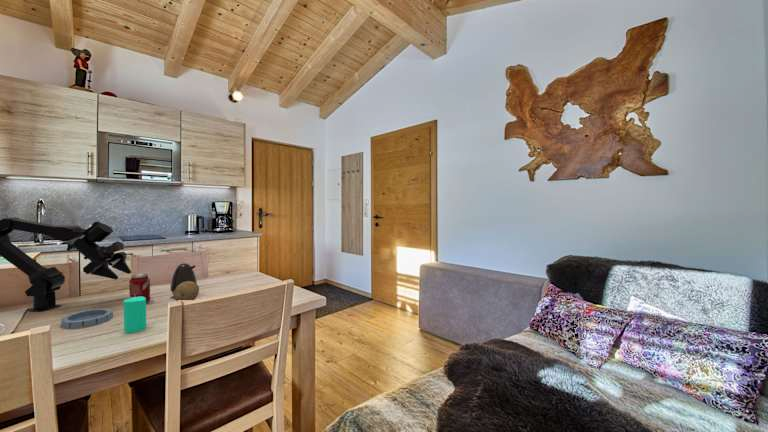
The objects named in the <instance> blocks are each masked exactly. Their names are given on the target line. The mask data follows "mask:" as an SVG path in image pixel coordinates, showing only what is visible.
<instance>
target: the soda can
mask: <svg viewBox="0 0 768 432" xmlns="http://www.w3.org/2000/svg"><path fill="white" fill-rule="evenodd" d="M130 277H131V278H130V279H129V281H128V283H129V285H128V286H129V299H130V298H133V297H141V296H143V297H145V298H146V304H148V303H149V302H150V301H151V278H150V277H149V274H146V273H140V274H139V273H138V274H135V275H134V274H133V275H131V276H130Z"/></svg>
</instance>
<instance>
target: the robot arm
mask: <svg viewBox="0 0 768 432" xmlns="http://www.w3.org/2000/svg"><path fill="white" fill-rule="evenodd" d="M14 231H20V232H27V233H32V234H37V235H45V236H47V237H49V238H51V239H52V240H53V239H54V240H56V241H60V242H71V241H73V242H71V243H67V244H66V245H67V247H66V251H67V252H69V251H74V250H76V251H78V252H79V253H80V254H81V255H82V256H84V257H83V259H84V260H89V261H90V262H88V263H87V264H86V265H84V267H83V268H82V269H83V270H82V271H83V272H84V274H86V275H91V276H99V277H104V278H108V279H112V280H118V279H119V276H118V275H117V274H116V273H115V272H114V271H113V270H112V269H111V268H113V269H115V270H118V271H120V272H122V273H125V274H128V275H130V274H131V273H132V271H131V268H130V267H129V265H128V263H127V262H126V258H127V256H128V254H127V253H126V252H125V251H123V250H124V249H125V248H124V246H125V244H124V243H123V242H121V241H119V240H118V241H115V242H112V244H110V245H108V246H104V245H102V246H100V245H99V244H98V243H101V242H103V241H104V240H105V239H106V238H107V237H109V236H110V235H111V234H113V232H114V229H113V228H112V227H111V226H110V225H107V224H105V223H102V222H101V221H99V220H98V221H95V222H93V223H92V224H91V225H90V226H89V227H88V228H82V227H81V226H78V225H65V224H63V225H62V224H61V225H58V224H49V223H44V222H39V221H38V222H37V221H32V220H27V219H21V218H19V217H6V218H2V219H0V257H2V258H3V259H4V260H6V261H7V262H9V263H10V264H11V265H12V266H14V267H16V269H18V270H19V271H21V272H22V273H24V274H25V275H26V276H27V277H28V280H29V281H28V282H29V284H30V285H31V286H30V287H29V288H27V289H26V290H25V291H24V293H25V295H26V296H27V297H32V307H29V308H27V311H33V312H43V311H48V310H51V309H54V308H58V307H61V304H57V301H56V300H57V298H56V291H59V290H60V289H61V287H62V286H63V284H64V283H65V280H66V277H65V275H64V272H61V271H60V270H59V269H58V268H57V267H55V266H52V267H51V266H50V267H48V268H47V267H44V266H43V265H41V264H40V263H39V262H37V261H36V260H35V259H34V258H33V257H31V256H29V255H28V254H27V253H26V252H24V251H23V250H21V249H20V248H19V247H18V246H17V245H14V243H12V242H11V239H10V236H9V234H11V233H12V232H14ZM110 267H111V268H110Z"/></svg>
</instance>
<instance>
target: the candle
mask: <svg viewBox="0 0 768 432" xmlns="http://www.w3.org/2000/svg"><path fill="white" fill-rule="evenodd" d="M146 328H147V303H146V298H145V297H143V296H141V297H133V298H130V297H129V298H127V299H124V300H123V332H124V333H126V334H131V333H137V332H141V331H143V330H145V329H146Z"/></svg>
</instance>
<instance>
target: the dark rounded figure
mask: <svg viewBox="0 0 768 432" xmlns="http://www.w3.org/2000/svg"><path fill="white" fill-rule="evenodd" d="M196 267H197V266H196V265H192V266H191V264H189V263H183V262H182V263H180V264H179V265H177V266H176V268H175V270H174V272H173V275H172V277H171V282H170V291H171V293H172V295H173V294H174V291H175V289H176V287H177V286H178V285H179V284H181V283H183V282H186V281H192V282H195V283H196V284H197V285H198V283H197V282H198V281H197V277H196V274H195V272H194V271H195V270H194V269H195V268H196Z"/></svg>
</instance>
